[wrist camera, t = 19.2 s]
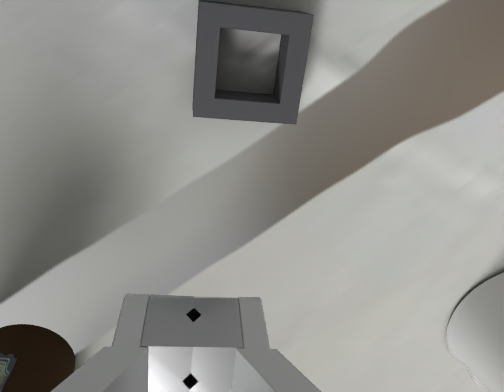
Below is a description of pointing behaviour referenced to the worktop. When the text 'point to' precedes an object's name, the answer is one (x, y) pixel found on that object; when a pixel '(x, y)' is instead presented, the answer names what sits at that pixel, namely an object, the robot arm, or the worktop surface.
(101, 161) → the worktop surface
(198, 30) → the holster
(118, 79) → the worktop surface
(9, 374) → the olive oil
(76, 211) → the worktop surface
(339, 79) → the worktop surface
